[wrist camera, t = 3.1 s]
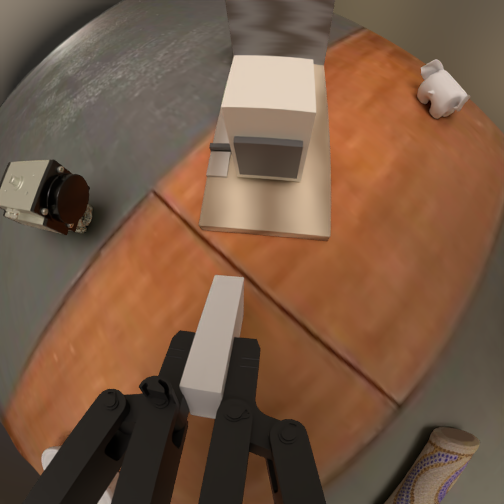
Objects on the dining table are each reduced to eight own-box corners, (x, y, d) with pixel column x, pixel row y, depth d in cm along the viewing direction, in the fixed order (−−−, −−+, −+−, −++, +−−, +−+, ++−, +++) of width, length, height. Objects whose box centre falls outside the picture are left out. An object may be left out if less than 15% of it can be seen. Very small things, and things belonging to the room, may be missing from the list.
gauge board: (320, 57, 31) (330, -11, 19) (326, 240, 25) (373, 182, 13) (238, 52, 32) (229, -16, 20) (201, 230, 26) (152, 166, 14)
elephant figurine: (465, 121, 28) (487, 95, 21) (432, 130, 28) (456, 99, 21) (436, 85, 30) (453, 58, 23) (400, 90, 29) (417, 57, 22)
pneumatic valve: (57, 197, 28) (-3, 158, 17) (121, 205, 27) (56, 152, 16) (44, 236, 27) (-22, 207, 16) (107, 253, 26) (30, 219, 15)
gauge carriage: (301, 121, 26) (312, 49, 16) (300, 187, 25) (316, 119, 15) (218, 117, 27) (201, 47, 17) (205, 181, 25) (174, 115, 16)
